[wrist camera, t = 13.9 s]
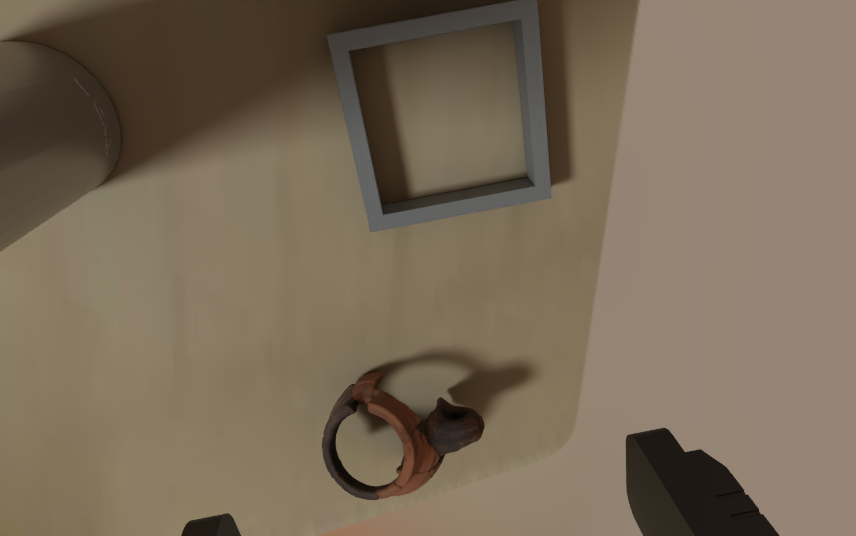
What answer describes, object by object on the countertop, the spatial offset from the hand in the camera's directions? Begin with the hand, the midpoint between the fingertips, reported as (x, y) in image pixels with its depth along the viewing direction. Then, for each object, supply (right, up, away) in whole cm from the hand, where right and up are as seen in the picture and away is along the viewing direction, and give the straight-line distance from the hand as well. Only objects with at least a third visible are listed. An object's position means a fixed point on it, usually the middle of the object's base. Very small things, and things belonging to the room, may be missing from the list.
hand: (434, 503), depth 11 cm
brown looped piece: (-2, -7, +34) cm, 35 cm away
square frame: (+1, +14, +25) cm, 28 cm away
